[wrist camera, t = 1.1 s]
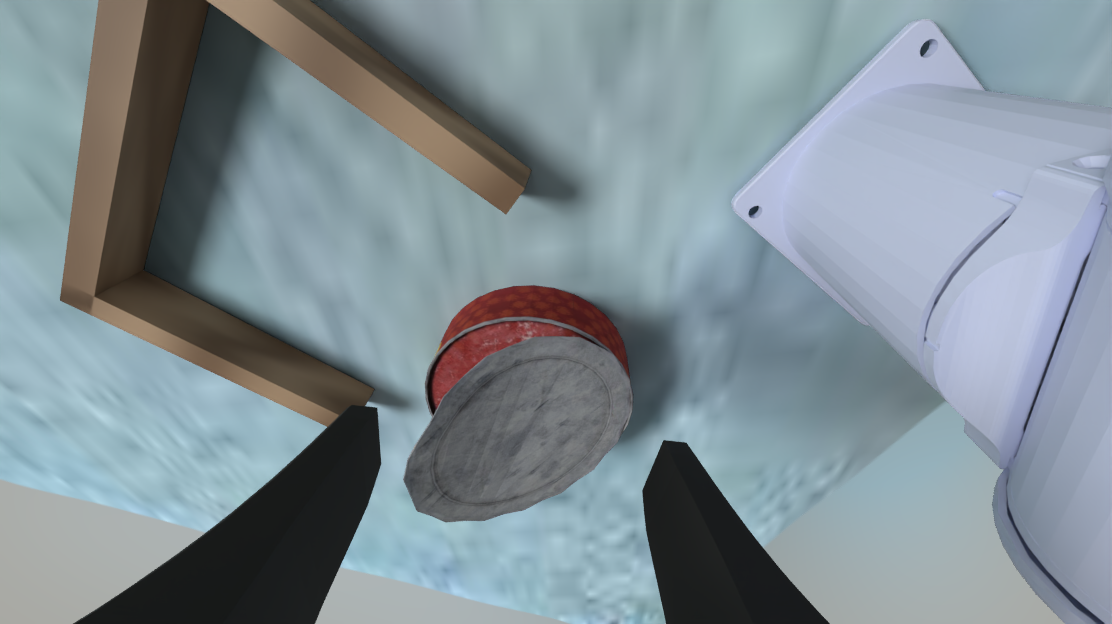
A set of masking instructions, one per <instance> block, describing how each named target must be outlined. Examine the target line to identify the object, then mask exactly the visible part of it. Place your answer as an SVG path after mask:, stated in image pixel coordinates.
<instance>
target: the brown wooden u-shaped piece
mask: <svg viewBox="0 0 1112 624" xmlns="http://www.w3.org/2000/svg"><path fill="white" fill-rule="evenodd" d="M209 3H211V4H212V5H214V6H215V7H216V8H218V9H219V10H221V11H222V12H223V13H225V14H226V15H228V16H229V17H230V18H232V19H233V20H235V21H236V22H237V23H239V24H240V25H242V26H243V27H244V28H246V29H247V30H249V31H250V32H251V33H253V34H254V35H256V36H257V37H258V38H260V39H261V40H263V41H264V42H265V43H267V44H268V45H270V46H271V47H272V48H274V49H275V50H277V51H278V52H279V53H281V54H282V55H284V56H285V57H286V58H288V59H289V60H291V61H292V62H293V63H295V64H296V65H298V66H299V67H300V68H302V69H303V70H305V71H306V72H307V73H309V74H310V75H312V76H313V77H314V78H316V79H317V80H319V81H320V82H321V83H323V84H324V85H326V86H327V87H328V88H330V89H331V90H333V91H334V92H335V93H337V94H338V95H340V96H341V97H342V98H344V99H345V100H347V101H348V102H349V103H351V104H352V105H354V106H355V107H356V108H358V109H359V110H361V111H362V112H363V113H365V114H366V115H368V116H369V117H370V118H372V119H373V120H375V121H376V122H377V123H379V124H380V125H382V126H383V127H384V128H386V129H387V130H389V131H390V132H391V133H393V134H394V135H396V136H397V137H398V138H400V139H401V140H403V141H404V142H405V143H407V144H408V145H410V146H411V147H412V148H414V149H415V150H417V151H418V152H419V153H421V154H422V155H424V156H425V157H426V158H428V159H429V160H431V161H432V162H433V163H435V164H436V165H438V166H439V167H440V168H442V169H443V170H445V171H446V172H447V173H449V174H450V175H452V176H453V177H454V178H456V179H457V180H459V181H460V182H461V183H463V184H464V185H466V186H467V187H468V188H470V189H471V190H473V191H474V192H475V193H477V194H478V195H480V196H481V197H482V198H484V199H485V200H487V201H488V202H489V203H491V204H492V205H494V206H495V207H496V208H498V209H499V210H501V211H502V212H503V213H505V214H507V213H508V211H509V210H510V208H511V207H512V206H513V204H514V203H515V201H516V200H517V199H518V197H519V196H520V195H521V193H522V192H523V190H524V189H525V187H526V184H527V181H528V178H529V175H530V173H531V169H529V168H528V167H527V166H525V165H524V164H523V163H521V162H520V161H519V160H518V159H516V158H515V157H514V156H512V155H511V154H510V153H508V152H507V151H506V150H504V149H503V148H502V147H501V146H499V145H498V144H497V143H495V142H494V141H493V140H491V139H490V138H489V137H488V136H486V135H485V134H484V133H482V132H481V131H480V130H478V129H477V128H476V127H474V126H473V125H472V124H471V123H469V122H468V121H467V120H465V119H464V118H463V117H461V116H460V115H459V114H457V113H456V112H455V111H454V110H452V109H451V108H450V107H448V106H447V105H446V104H444V103H443V102H442V101H441V100H439V99H438V98H437V97H435V96H434V95H433V94H431V93H430V92H429V91H427V90H426V89H425V88H424V87H422V86H421V85H420V84H418V83H417V82H416V81H414V80H413V79H412V78H411V77H409V76H408V75H407V74H405V73H404V72H403V71H401V70H400V69H399V68H397V67H396V66H395V65H394V64H392V63H391V62H390V61H388V60H387V59H386V58H384V57H383V56H382V55H381V54H379V53H378V52H377V51H375V50H374V49H373V48H371V47H370V46H369V45H367V44H366V43H365V42H364V41H362V40H361V39H360V38H358V37H357V36H356V35H354V34H353V33H352V32H351V31H349V30H348V29H347V28H345V27H344V26H343V25H341V24H340V23H339V22H337V21H336V20H335V19H334V18H332V17H331V16H330V15H328V14H327V13H326V12H324V11H323V10H322V9H320V8H319V7H318V6H317V5H315V4H314V3H313V2H311V1H310V0H99V2H98V9H97V17H96V25H95V33H94V40H93V48H92V56H91V64H90V71H89V79H88V87H87V95H86V102H85V110H84V118H83V126H82V133H81V141H80V149H79V157H78V164H77V172H76V180H75V188H74V195H73V203H72V211H71V219H70V226H69V234H68V242H67V250H66V257H65V265H64V273H63V281H62V288H61V296H60V301H62V302H64V303H67V304H69V305H71V306H73V307H75V308H77V309H79V310H81V311H84V312H86V313H88V314H90V315H92V316H94V317H96V318H98V319H100V320H103V321H105V322H107V323H109V324H111V325H113V326H115V327H117V328H120V329H122V330H124V331H126V332H128V333H130V334H132V335H134V336H136V337H139V338H141V339H143V340H145V341H147V342H149V343H151V344H153V345H156V346H158V347H160V348H162V349H164V350H166V351H168V352H170V353H172V354H175V355H177V356H179V357H181V358H183V359H185V360H187V361H189V362H192V363H194V364H196V365H198V366H200V367H202V368H204V369H206V370H208V371H211V372H213V373H215V374H217V375H219V376H221V377H223V378H225V379H228V380H230V381H232V382H234V383H236V384H238V385H240V386H242V387H244V388H247V389H249V390H251V391H253V392H255V393H257V394H259V395H261V396H264V397H266V398H268V399H270V400H272V401H274V402H276V403H278V404H281V405H283V406H285V407H287V408H289V409H291V410H293V411H295V412H297V413H300V414H302V415H304V416H306V417H308V418H310V419H312V420H314V421H317V422H319V423H321V424H323V425H325V426H327V427H328V426H329V425H330V424H331V423H332V422H333V421H334V420H335V419H336V418H337V417H338V416H339V415H340V414H341V413H342V412H343V411H344V410H345V409H346V408H347V407H349V406H351V405H357V406H365V405H366V403H367V402H368V400H369V398H370V396H371V395H372V393H373V391H374V390H375V389H373V388H371V387H369V386H367V385H365V384H363V383H361V382H359V381H357V380H355V379H354V378H352V377H350V376H348V375H346V374H344V373H342V372H340V371H338V370H336V369H334V368H332V367H330V366H328V365H326V364H324V363H323V362H321V361H319V360H317V359H315V358H313V357H311V356H309V355H307V354H305V353H303V352H301V351H299V350H297V349H295V348H293V347H291V346H290V345H288V344H286V343H284V342H282V341H280V340H278V339H276V338H274V337H272V336H270V335H268V334H266V333H264V332H262V331H260V330H259V329H257V328H255V327H253V326H251V325H249V324H247V323H245V322H243V321H241V320H239V319H237V318H235V317H233V316H231V315H229V314H228V313H226V312H224V311H222V310H220V309H218V308H216V307H214V306H212V305H210V304H208V303H206V302H204V301H202V300H200V299H198V298H197V297H195V296H193V295H191V294H189V293H187V292H185V291H183V290H181V289H179V288H177V287H175V286H173V285H171V284H169V283H167V282H166V281H164V280H162V279H160V278H158V277H156V276H154V275H152V274H150V273H148V272H146V271H144V266H145V262H146V257H147V253H148V249H149V245H150V241H151V237H152V233H153V229H154V225H155V221H156V217H157V213H158V209H159V205H160V201H161V197H162V193H163V189H164V185H165V180H166V176H167V172H168V168H169V164H170V160H171V156H172V152H173V148H174V144H175V140H176V136H177V132H178V128H179V124H180V120H181V116H182V112H183V108H184V104H185V99H186V95H187V91H188V87H189V83H190V79H191V75H192V71H193V67H194V63H195V59H196V55H197V51H198V47H199V43H200V39H201V35H202V31H203V27H204V22H205V18H206V14H207V10H208V6H209Z"/></svg>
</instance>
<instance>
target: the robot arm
mask: <svg viewBox="0 0 1112 624" xmlns="http://www.w3.org/2000/svg"><path fill="white" fill-rule="evenodd" d="M928 40H929V43H930V46H929V50H928V51H927V52H926V53H925V54H924V55H923V56H921V55H920V49H921V47H922V45H923V44H924V43H925V42H926V41H928ZM731 205H732V209H733V210H734V212H735V213H736V214H737V215H738V216H740V217H741V218H742V219H743V220H744V221H745V222H746V223H748V224H749V225H750V226H751V227H752V228H753V229H754V230H756V231H757V232H758V233H759V234H760V235H761V236H762V237H763V238H765V239H766V240H767V241H768V242H769V243H770V244H771V245H773V246H774V247H775V248H776V249H777V250H778V251H779V252H780V253H782V254H783V255H784V256H785V257H786V258H787V259H788V260H790V261H791V262H792V263H793V264H794V265H795V266H796V267H798V268H799V269H800V270H801V271H802V272H803V273H804V274H805V275H807V276H808V277H809V278H810V279H811V280H812V281H813V282H815V283H816V284H817V285H818V286H819V287H820V288H821V289H823V290H824V291H825V292H826V293H827V294H828V295H829V296H830V297H832V298H833V299H834V300H835V301H836V302H837V303H838V304H840V305H841V306H842V307H843V308H844V309H845V310H846V311H847V312H849V313H850V314H851V315H852V316H853V317H854V318H855V319H857V320H858V321H859V322H860V323H861V324H863V325H867V326H869V325H870V326H871V327H872V328H873V329H874V330H875V331H876V332H877V333H878V334H879V335H880V336H881V337H882V338H883V339H884V340H885V341H886V342H887V343H888V344H889V345H890V346H891V347H892V348H893V349H894V350H895V351H896V352H897V353H898V354H899V355H900V356H901V357H902V358H903V359H904V360H905V361H906V362H907V363H908V364H909V365H911V366H912V367H913V368H914V369H915V370H916V371H917V372H918V373H919V374H920V375H921V376H922V377H923V378H924V379H925V380H926V381H927V382H928V383H929V384H930V385H931V386H932V387H933V388H934V389H935V390H936V391H938V393H939V394H940V395H941V396H942V397H943V398H944V399H945V400H946V401H947V402H948V403H949V404H950V405H951V406H952V407H953V408H954V409H955V410H956V411H957V412H958V413H959V414H960V415H961V416H962V417H964V420H965V428H964V432H965V433H966V434H967V435H968V436H969V437H970V438H971V439H972V440H973V441H974V442H975V444H976V445H977V446H978V447H979V448H980V449H981V450H982V451H983V452H984V453H985V454H986V455H987V456H988V457H989V458H990V459H991V460H992V461H993V462H994V463H995V464H996V465H997V466H998V467H999V468H1000V469H1004V470H1003V472H1002V473H1001V475H1000V476H999V477H998V480H997V482H996V485H995V489H994V495H993V502H992V506H993V513H994V521H995V526H996V528H997V531H998V534H999V536H1000V539H1001V542H1002V544H1003V547H1004V548H1005V550H1006V552H1007V553H1008V555H1009V557H1010V559H1011V560H1012V562H1013V564H1014V566H1015V567H1016V569H1017V570H1018V571H1019V573H1020V574H1021V575H1022V577H1023V578H1024V579H1025V580H1026V582H1027V583H1028V584H1029V585H1030V587H1031V588H1032V589H1033V591H1034V592H1035V593H1036V595H1038V597H1039V598H1040V599H1041V600H1043V602H1044V603H1045V604H1046V605H1047V606H1048V607H1049V608H1050V609H1051V610H1052V611H1053V612H1054V613H1055V614H1056V615H1057V616H1058V617H1059V618H1060V619H1061V620H1062V621H1063V622H1064V623H1065V624H1112V108H1110V107H1102V106H1095V105H1087V104H1080V103H1072V102H1065V101H1057V100H1050V99H1042V98H1035V97H1028V96H1020V95H1013V94H1005V93H998V92H990V91H985V89H984V88H983V87H982V85H981V84H980V83H979V81H978V80H977V79H976V77H975V76H974V74H973V73H972V72H971V70H970V69H969V68H968V66H967V65H966V64H965V62H964V61H963V60H962V58H961V57H960V56H959V54H958V53H957V52H956V50H955V49H954V48H953V46H952V45H951V44H950V42H949V41H948V40H947V38H946V37H945V36H944V34H943V33H942V32H941V30H940V29H939V28H938V26H937V25H936V24H935V22H933V21H932V20H930V19H918V20H915V21H912V22H910V23H909V24H908V25H906V26H905V27H904V28H903V29H902V30H901V31H900V32H899V33H898V34H897V35H896V36H895V37H894V38H893V39H892V40H891V41H890V42H889V43H888V44H887V45H886V46H885V47H884V48H883V49H882V50H881V51H880V52H879V53H878V54H877V55H876V56H875V57H874V58H873V59H872V60H871V61H870V62H869V63H868V64H867V65H866V66H865V67H864V68H863V69H862V70H861V71H860V72H859V73H858V74H857V75H856V76H855V77H854V78H853V79H852V80H851V81H850V82H849V83H848V84H846V85H845V86H844V87H843V88H842V89H841V90H840V91H839V92H838V93H837V94H836V95H835V96H834V97H833V98H832V99H831V100H830V101H829V102H828V103H827V104H826V105H825V106H824V107H823V108H822V109H821V110H820V111H819V112H818V113H817V114H816V115H815V116H814V117H813V118H812V119H811V120H810V121H809V122H808V123H807V124H806V125H805V126H804V127H803V128H802V129H801V130H800V131H799V132H798V133H797V134H796V135H795V136H794V137H793V138H792V139H791V140H790V141H789V142H788V143H787V144H786V145H785V146H784V147H783V148H782V149H781V150H780V151H779V152H778V153H777V154H776V155H775V156H774V157H773V158H772V159H771V160H770V161H769V162H768V163H767V164H766V165H765V166H764V167H763V168H762V169H761V170H760V171H759V172H758V173H757V174H756V175H755V176H754V177H753V178H752V179H751V180H750V181H749V182H748V183H747V184H746V185H745V186H743V187H742V188H741V189H740V190H739V191H738V192H737V193H736V194H735V196H734V197H733V199H732V202H731ZM753 206H759V209H758V211H757V212H756V213H755V214H753V215H748V213H749V210H750V209H751V208H752V207H753ZM380 466H381V455H380V441H379V426H378V412H377V408H375V407H366V406H357V405H351V406H349V407H347V408H346V409H345V410H344V411H343V412H342V413H341V414H340V415H339V416H338V417H337V418H336V419H335V420H334V421H333V422H332V423H331V424H330V425H329V426H328V427H327V428H326V429H325V430H324V431H323V432H322V433H321V434H320V435H319V436H318V437H317V438H316V439H315V440H314V441H313V442H312V443H311V444H310V445H308V446H307V447H306V448H305V449H304V450H303V451H302V452H301V453H300V454H299V455H298V456H297V457H296V458H294V459H293V460H292V461H291V462H290V463H289V464H288V465H287V466H286V467H284V468H283V469H282V470H281V471H280V472H279V473H278V474H277V475H276V476H275V477H273V478H272V479H271V480H270V481H269V482H268V483H266V484H265V485H264V486H263V487H262V488H261V489H259V490H258V491H257V492H256V493H255V494H253V495H252V496H251V497H250V498H249V499H247V500H246V501H245V502H244V503H243V504H241V505H240V506H239V507H238V508H237V509H235V510H234V511H233V512H232V513H231V514H229V515H228V516H227V517H225V518H224V519H223V520H222V521H220V522H219V523H218V524H217V525H215V526H214V527H213V528H211V529H210V530H209V531H208V532H206V533H205V534H204V535H202V536H201V537H200V538H198V539H197V540H196V541H194V542H193V543H192V544H190V545H189V546H188V547H186V548H185V549H183V550H182V551H181V552H180V553H178V554H177V555H175V556H174V557H172V558H171V559H170V560H168V561H167V562H165V563H164V564H162V565H161V566H160V567H158V568H157V569H155V570H154V571H152V572H151V573H150V574H148V575H147V576H145V577H144V578H142V579H141V580H139V581H138V582H137V583H135V584H134V585H132V586H131V587H129V588H128V589H126V590H125V591H123V592H122V593H120V594H119V595H117V596H116V597H114V598H113V599H111V600H110V601H108V602H107V603H105V604H104V605H102V606H101V607H99V608H98V609H96V610H95V611H93V612H91V613H89V614H88V615H86V616H85V617H83V618H81V619H80V620H78V621H77V622H75V623H73V624H315V622H316V620H317V617H318V615H319V612H320V610H321V607H322V605H323V603H324V600H325V598H326V596H327V594H328V592H329V589H330V587H331V585H332V583H333V581H334V578H335V576H336V574H337V572H338V569H339V567H340V565H341V563H342V561H343V559H344V556H345V554H346V552H347V550H348V548H349V546H350V543H351V541H352V539H353V537H354V534H355V532H356V530H357V528H358V526H359V523H360V521H361V519H362V517H363V514H364V512H365V510H366V508H367V505H368V503H369V500H370V497H371V494H372V491H373V488H374V485H375V481H376V478H377V475H378V472H379V469H380ZM642 492H643V503H644V514H645V523H646V532H647V537H648V542H649V546H650V551H651V556H652V560H653V565H654V570H655V574H656V579H657V583H658V588H659V593H660V597H661V602H662V606H663V611H664V615H665V620H666V624H829V622H828V621H827V620H826V619H825V618H824V617H823V616H822V615H821V614H820V613H819V612H818V611H817V610H816V609H815V608H814V606H813V605H812V604H811V603H810V602H809V601H808V600H807V599H806V598H805V596H804V595H803V594H802V593H801V592H800V591H799V590H798V589H797V588H796V587H795V585H794V584H793V583H792V582H791V581H790V580H789V579H788V577H787V576H786V575H785V574H784V573H783V572H782V571H781V570H780V568H779V567H778V566H777V565H776V563H775V562H774V561H773V560H772V558H771V557H770V556H769V555H768V554H767V552H766V551H765V550H764V549H763V547H762V546H761V545H760V544H759V542H758V541H757V540H756V539H755V537H754V536H753V535H752V533H751V532H750V531H749V530H748V528H747V527H746V526H745V524H744V523H743V522H742V520H741V519H740V518H739V516H738V515H737V513H736V512H735V511H734V509H733V508H732V507H731V505H730V504H729V503H728V501H727V500H726V498H725V497H724V496H723V494H722V493H721V492H720V490H719V489H718V487H717V486H716V484H715V483H714V482H713V480H712V479H711V477H710V476H709V474H708V473H707V472H706V470H705V469H704V467H703V466H702V464H701V463H700V461H699V460H698V459H697V457H696V456H695V454H694V453H693V451H692V450H691V449H690V447H689V446H688V444H687V443H684V442H675V441H666V440H663V443H662V445H661V447H660V450H659V452H658V455H657V457H656V459H655V462H654V464H653V466H652V469H651V471H650V474H649V476H648V478H647V481H646V483H645V485H644V488H643V490H642Z"/></svg>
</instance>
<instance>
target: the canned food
mask: <svg viewBox="0 0 1112 624" xmlns="http://www.w3.org/2000/svg"><path fill="white" fill-rule="evenodd" d="M425 394H426V401H427V404H428V408H429V411H430V414H431V416H432V419H431V421H430V423H429V425H428V426H427V428H426V429H425V431H424V432H423V434H422V435H421V437H420V438H419V440H418V442H417V443H416V445H415V447H414V448H413V450H412V452H411V454H410V456H409V458H408V460H407V465H406V469H405V474H404V479H403V480H404V483H405V485H406V487H407V489H408V492H409V494H410V496H411V499H412V501H413V503H414V506H415V508H416V510H417V511H418V512H421V513H424V514H427V515H430V516H433V517H435V518H437V519H440V520H442V521H444V522H456V521H485V520H488V519H491V518H494V517H497V516H500V515H503V514H507V513H512V512H517V511H522V510H525V509H527V508H529V507H531V506H533V505H534V504H536V503H538V502H540V501H542V500H545V499H547V498H550V497H552V496H555V495H557V494H560V493H562V492H563V491H564V490H566V489H567V488H568V487H569V486H571V485H572V484H573V483H574V482H576V481H577V480H578V479H580V478H582V477H583V476H585V475H586V474H588V473H589V472H591V471H592V470H594V468H595V467H596V466H597V465H598V463H599V462H600V461H601V460H602V458H603V457H604V456H605V455H606V454H607V453H608V452H609V451H610V450H611V448H612V447H613V446H614V445H615V444H616V443H617V442H618V440H619V438H620V436H621V435H622V433H623V431H624V430H625V428H626V427H627V425H628V423H629V419H630V416H631V413H632V410H633V391H632V387H631V382H630V375H629V368H628V362H627V355H626V351H625V346H624V342H623V340H622V338H621V336H620V334H619V332H618V330H617V328H616V327H615V326H614V325H613V323H612V322H611V321H610V320H609V319H608V317H607V316H606V315H605V314H604V313H602V312H601V311H600V310H599V309H597V308H596V307H595V306H594V305H592V304H591V303H589V302H587V301H586V300H584V299H582V298H580V297H578V296H576V295H574V294H571V293H568V292H565V291H562V290H559V289H555V288H549V287H542V286H535V285H533V286H513V287H508V288H503V289H499V290H494V291H492V292H490V293H487V294H485V295H483V296H480V297H478V298H476V299H475V300H474V301H472V302H471V303H469V304H468V305H466V306H465V307H464V308H463V309H462V310H461V311H460V312H459V313H458V314H457V315H456V316H455V317H454V318H453V319H452V321H451V323H450V325H449V327H448V329H447V330H446V332H445V334H444V337H443V339H442V341H441V343H440V346H439V348H438V350H437V352H436V354H435V357H434V359H433V361H432V362H431V364H430V366H429V368H428V372H427V377H426V381H425Z"/></svg>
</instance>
